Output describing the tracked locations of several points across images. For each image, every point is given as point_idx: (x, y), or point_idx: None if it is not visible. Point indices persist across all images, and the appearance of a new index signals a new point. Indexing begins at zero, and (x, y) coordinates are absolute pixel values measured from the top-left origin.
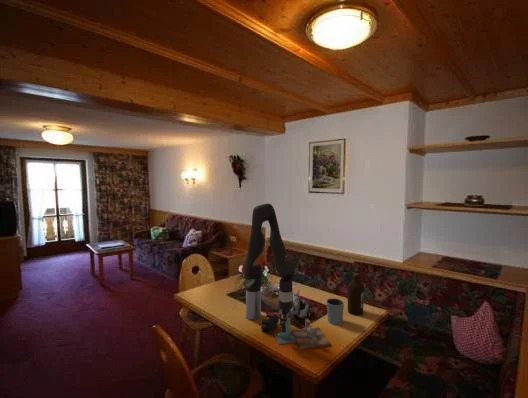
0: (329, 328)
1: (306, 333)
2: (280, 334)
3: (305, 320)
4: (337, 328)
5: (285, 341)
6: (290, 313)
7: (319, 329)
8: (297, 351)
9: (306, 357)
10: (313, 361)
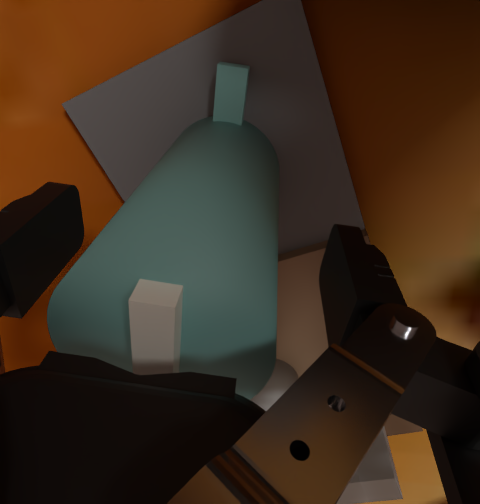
0: (427, 461)
1: (312, 356)
2: (232, 107)
3: (379, 462)
4: (423, 489)
5: (138, 178)
6: (440, 441)
7: (386, 431)
8: (55, 281)
9: (20, 334)
10: (5, 365)
